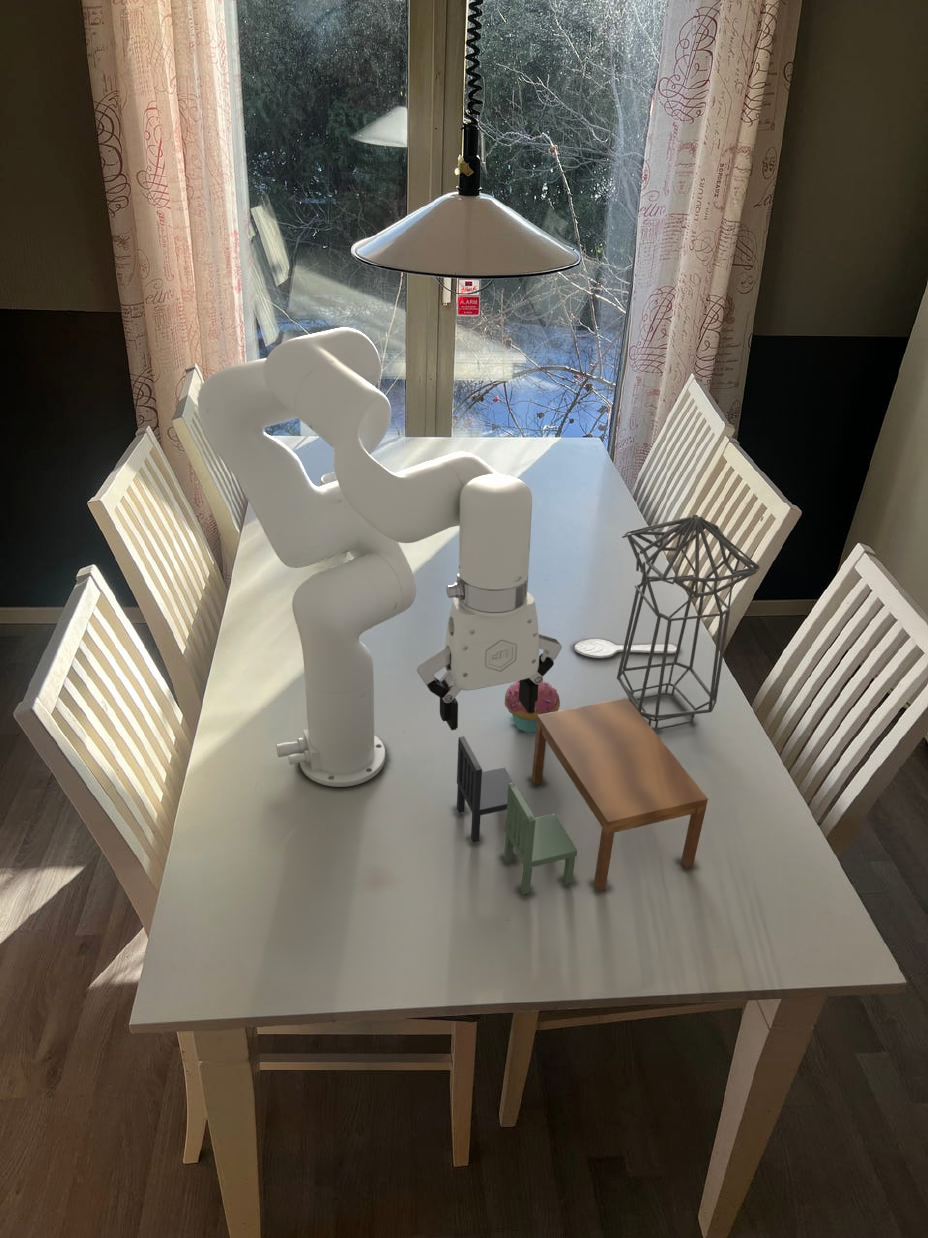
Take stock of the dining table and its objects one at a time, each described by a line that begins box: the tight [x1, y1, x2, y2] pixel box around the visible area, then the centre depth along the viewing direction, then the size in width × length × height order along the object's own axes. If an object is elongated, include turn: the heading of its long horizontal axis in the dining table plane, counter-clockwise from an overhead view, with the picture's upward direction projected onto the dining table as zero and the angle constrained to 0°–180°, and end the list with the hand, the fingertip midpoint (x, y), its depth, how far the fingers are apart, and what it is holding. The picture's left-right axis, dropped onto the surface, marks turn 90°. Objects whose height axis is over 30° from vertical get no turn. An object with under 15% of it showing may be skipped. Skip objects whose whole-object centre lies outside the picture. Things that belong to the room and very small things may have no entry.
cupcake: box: [504, 680, 561, 733], centre depth 152 cm, size 9×8×12 cm
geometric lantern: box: [616, 514, 761, 731], centre depth 149 cm, size 16×16×35 cm
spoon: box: [574, 638, 677, 659], centre depth 173 cm, size 5×18×1 cm, turn 92°
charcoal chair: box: [456, 735, 514, 843], centre depth 133 cm, size 7×7×13 cm
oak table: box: [531, 697, 709, 892], centre depth 134 cm, size 14×22×12 cm, turn 19°
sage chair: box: [503, 782, 578, 895], centre depth 125 cm, size 7×7×13 cm
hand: (488, 714), depth 116 cm, fingers open, 9 cm apart
